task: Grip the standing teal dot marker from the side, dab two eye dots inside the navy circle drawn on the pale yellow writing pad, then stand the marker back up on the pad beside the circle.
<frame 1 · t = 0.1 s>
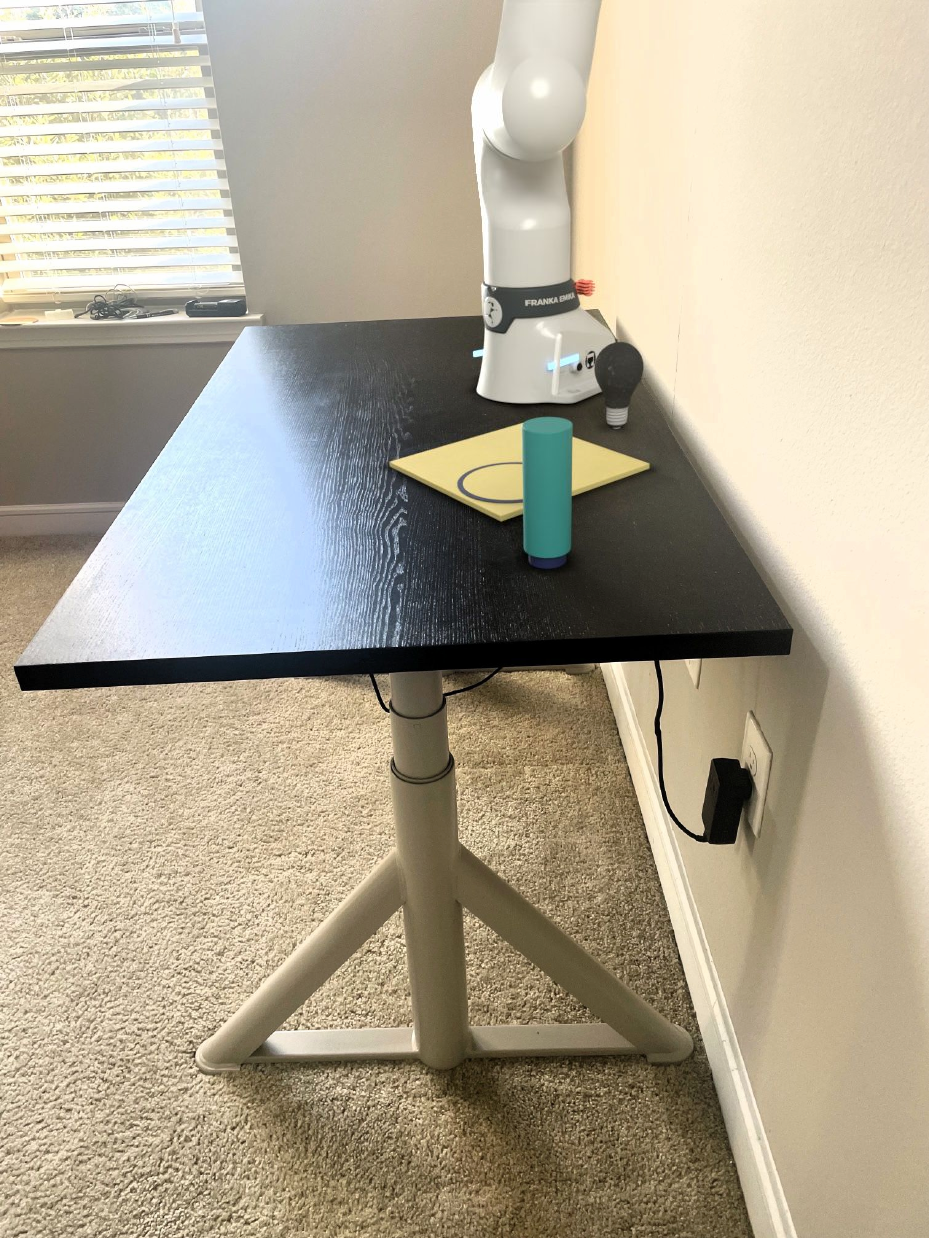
light bulb: (616, 429, 103), on the table
dot marker: (547, 560, 74), on the table
writing pad: (516, 467, 93), on the table
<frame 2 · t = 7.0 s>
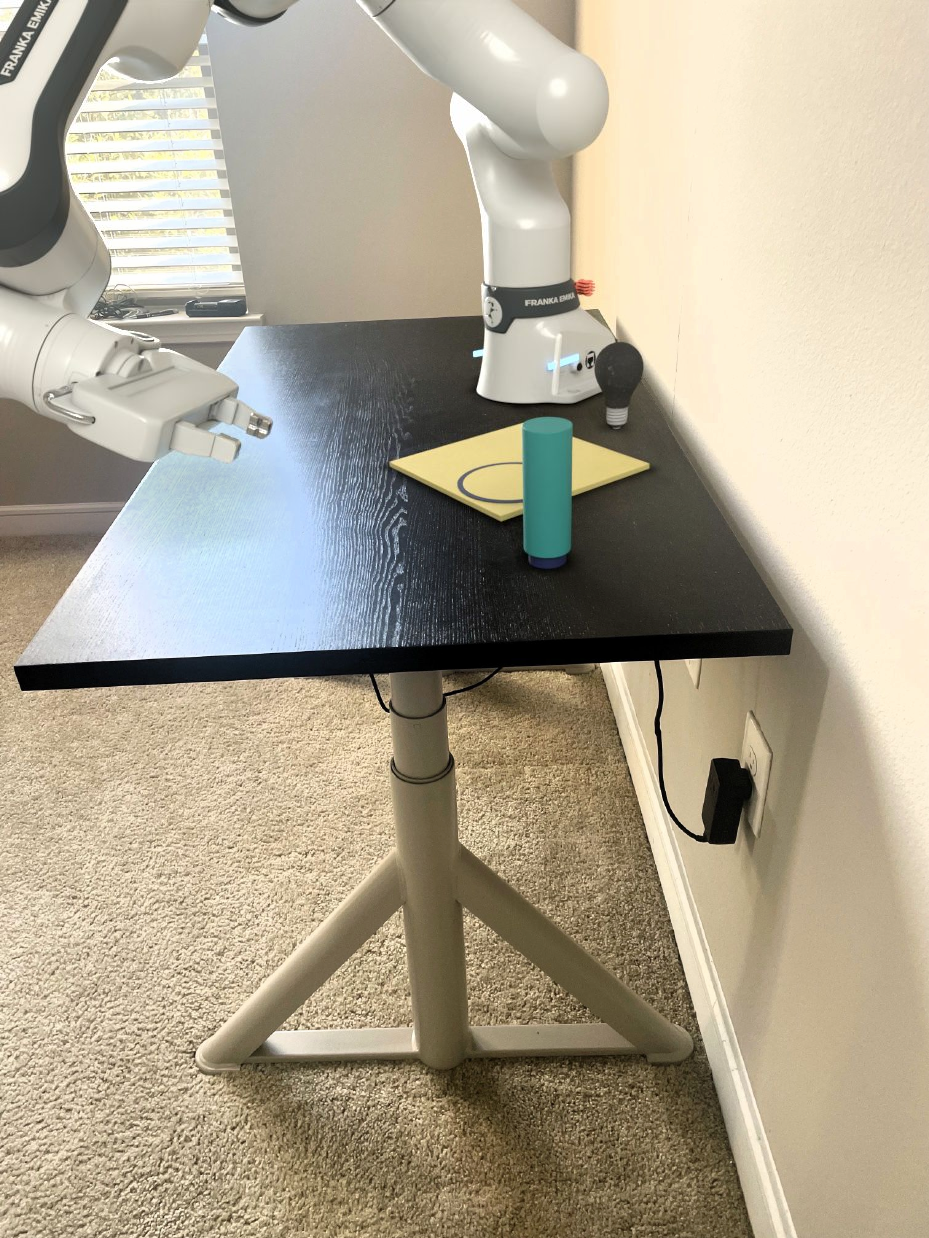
hand: (254, 441, 73), 10 cm above the table, tool tilted 65°, fingers open, 8 cm apart
nothing on the table moved.
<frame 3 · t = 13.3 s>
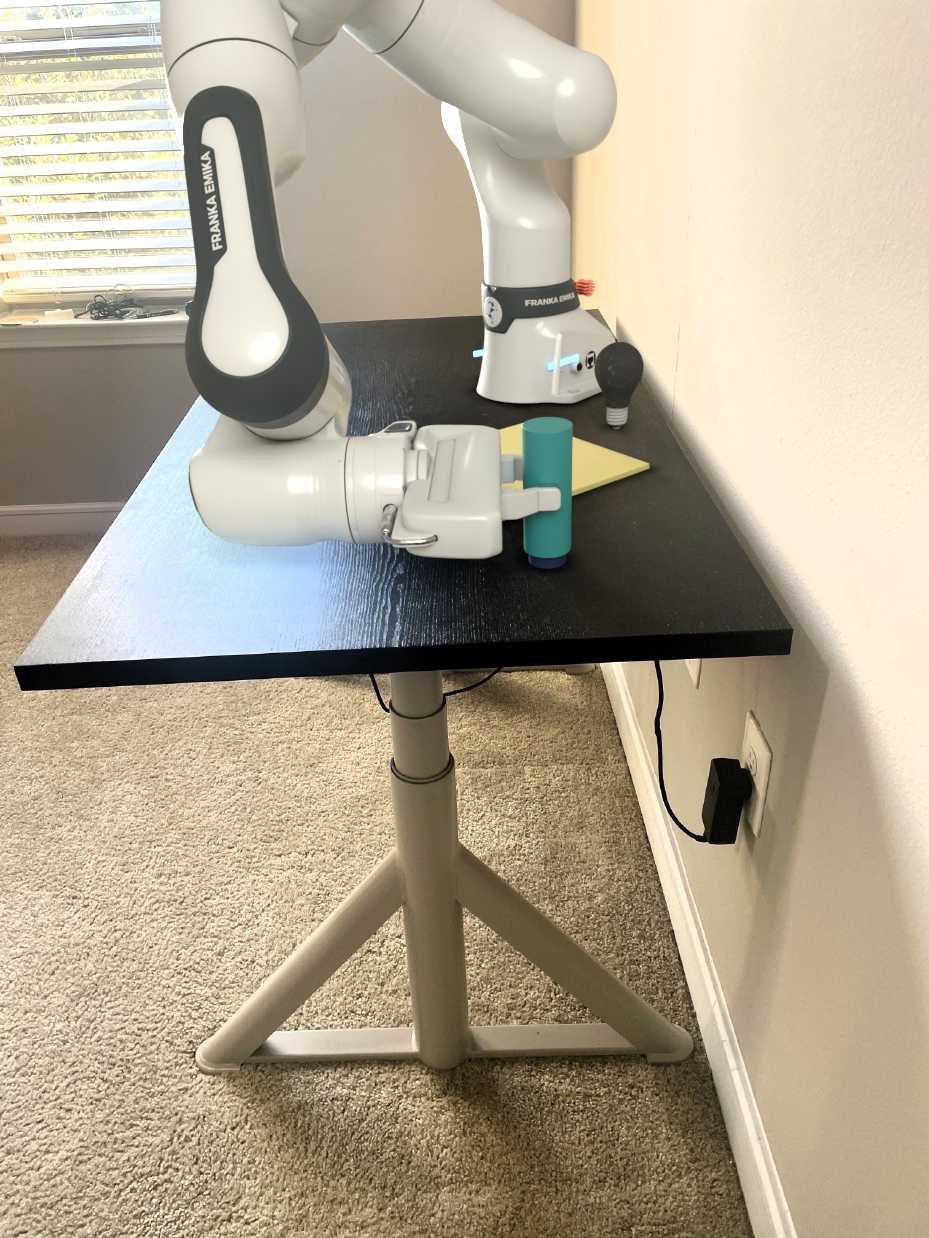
hand: (558, 483, 70), 7 cm above the table, tool horizontal, fingers closed on dot marker, 4 cm apart
dot marker: (547, 560, 74), on the table, touching gripper
everything else where it was.
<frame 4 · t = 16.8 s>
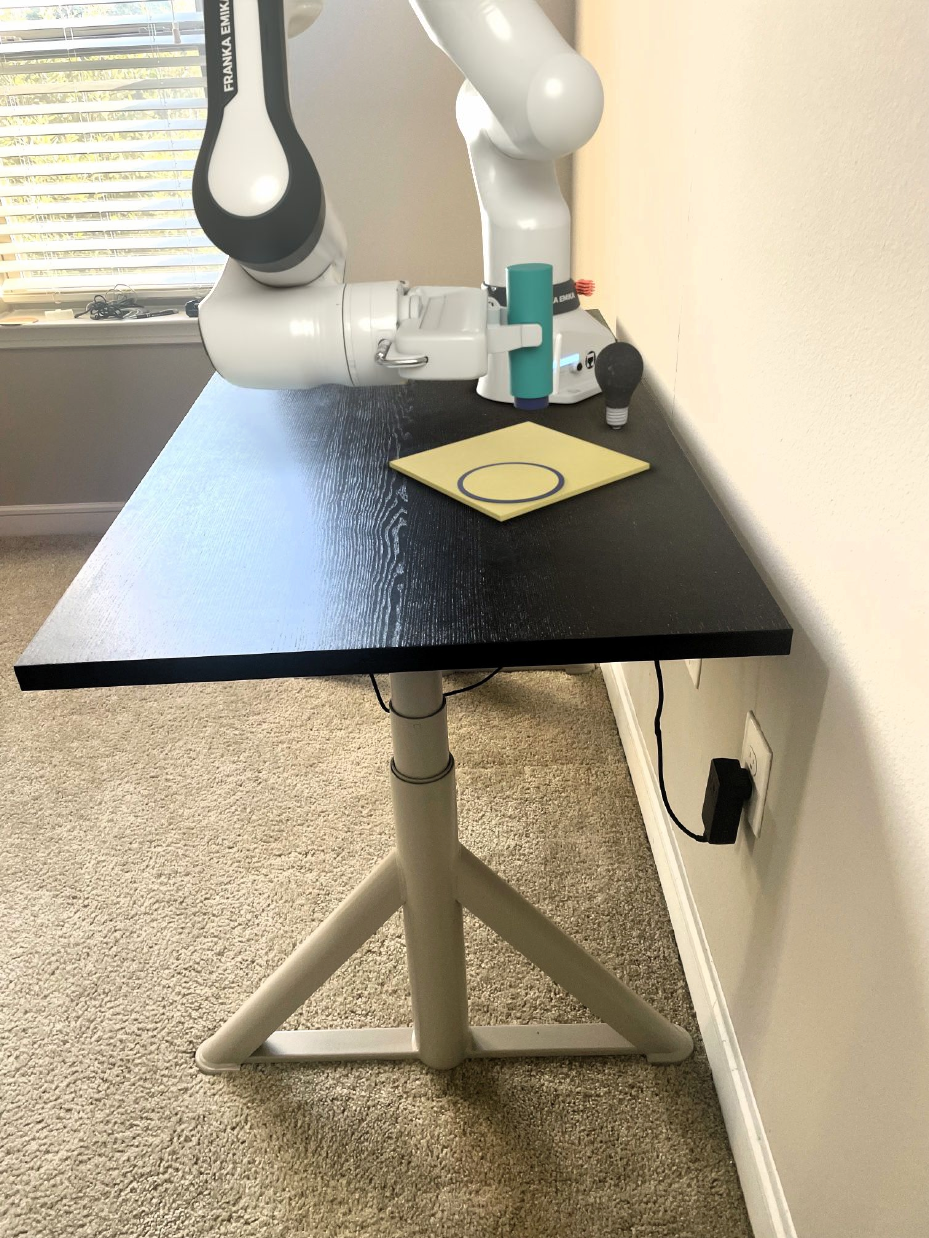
hand: (540, 326, 76), 17 cm above the table, tool horizontal, fingers closed on dot marker, 4 cm apart
dot marker: (531, 405, 80), point 10 cm above the table, touching gripper
everything else where it was.
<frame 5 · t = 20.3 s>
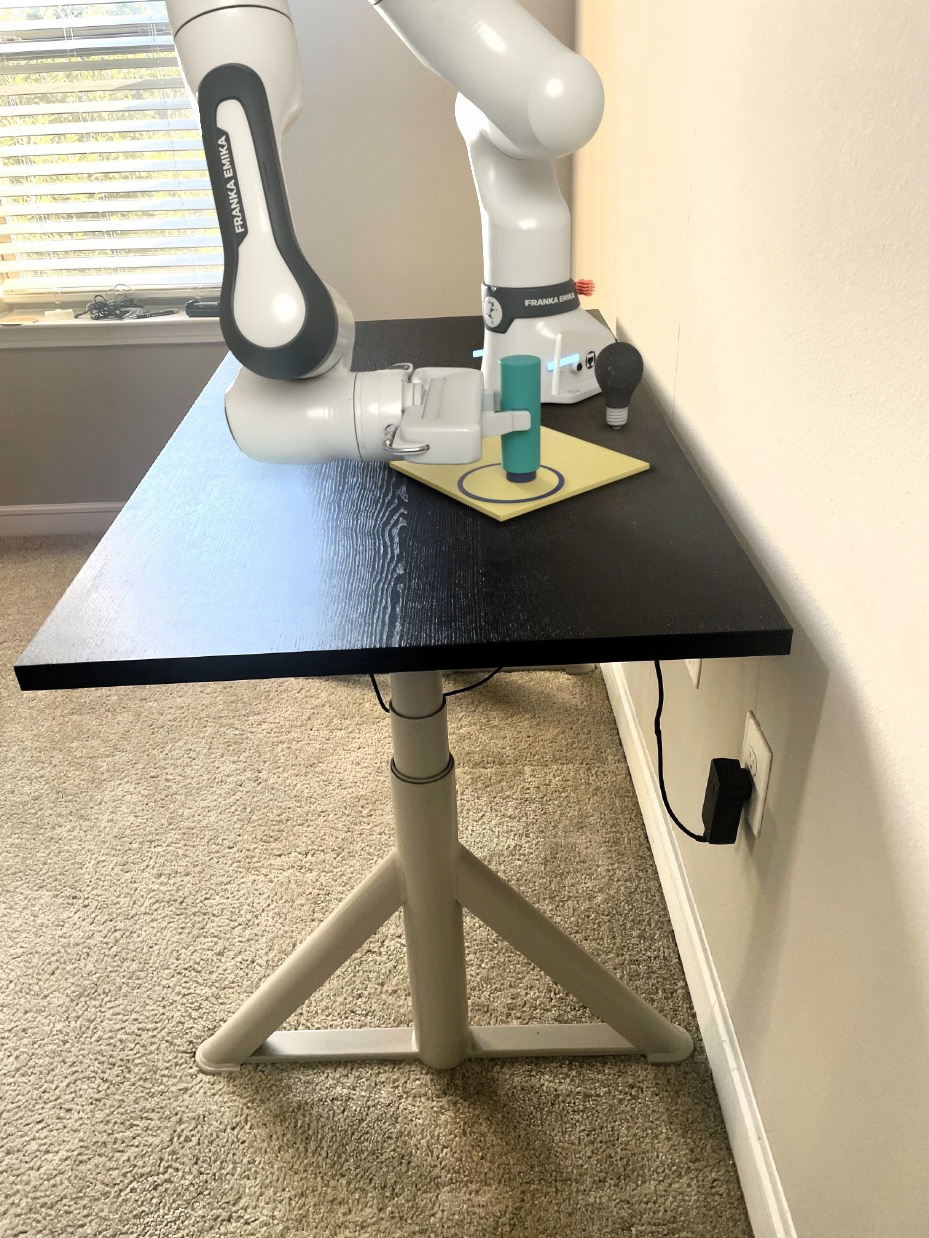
hand: (529, 410, 85), 8 cm above the table, tool horizontal, fingers closed on dot marker, 4 cm apart
dot marker: (520, 477, 89), point 1 cm above the table, touching gripper, writing pad
everything else where it was.
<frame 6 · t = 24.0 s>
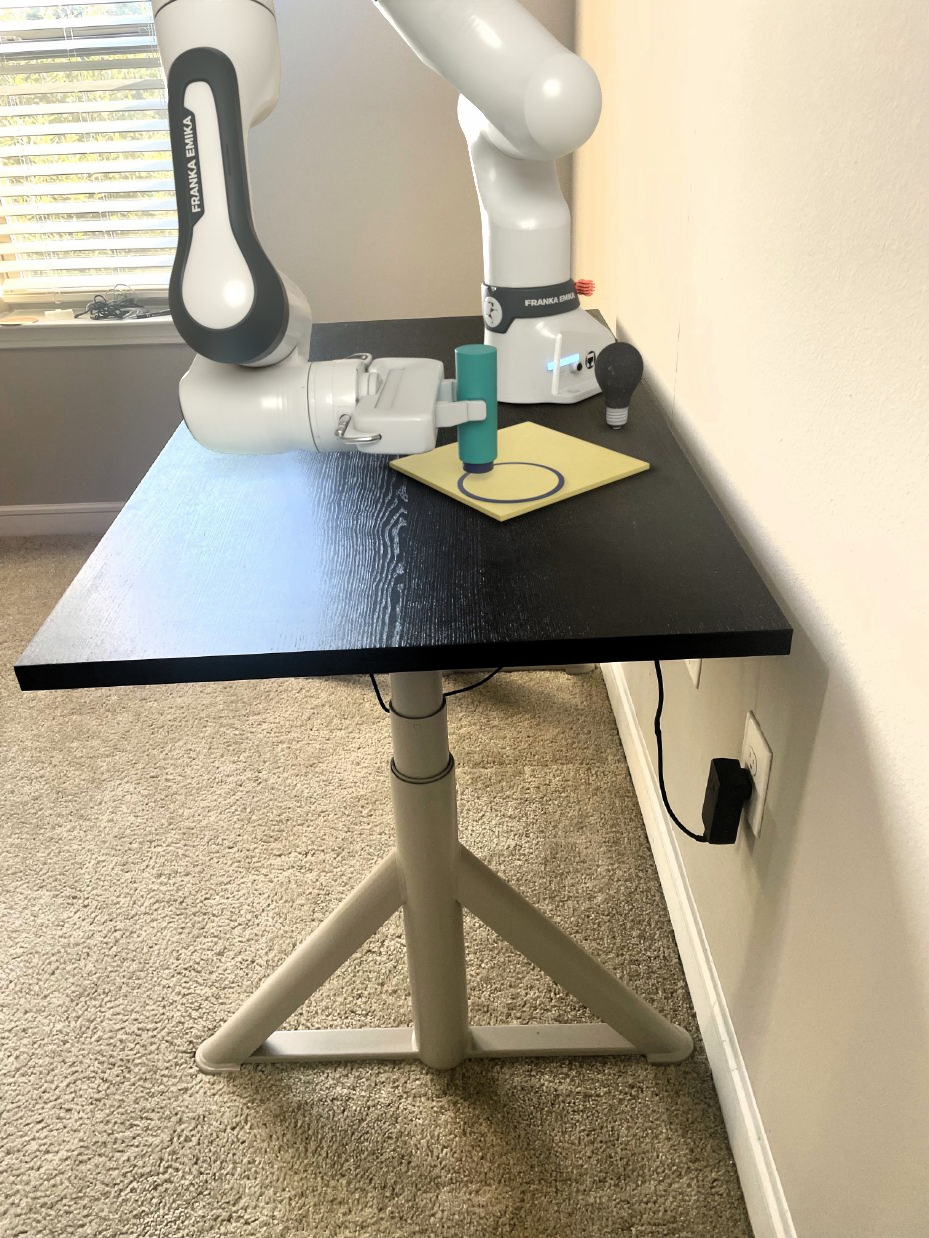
hand: (486, 400, 85), 9 cm above the table, tool horizontal, fingers closed on dot marker, 4 cm apart
dot marker: (478, 468, 88), point 2 cm above the table, touching gripper
everything else where it was.
when the fingers open (8 cm above the table, at t = 27.3 s): dot marker stays where it is, resting on writing pad.
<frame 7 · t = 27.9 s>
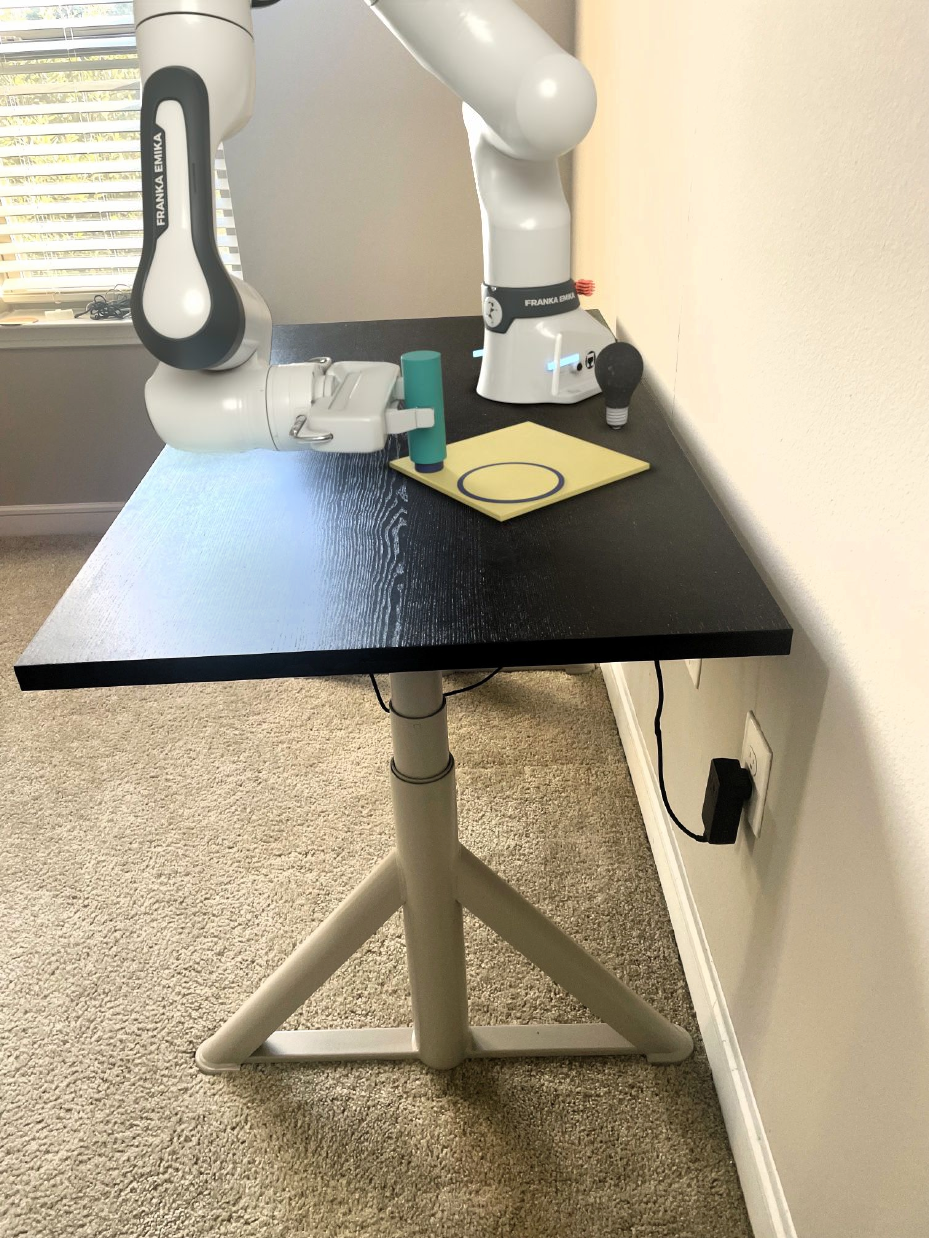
hand: (437, 402, 89), 8 cm above the table, tool horizontal, fingers open, 8 cm apart
dot marker: (429, 468, 93), point 1 cm above the table, touching writing pad
everything else where it was.
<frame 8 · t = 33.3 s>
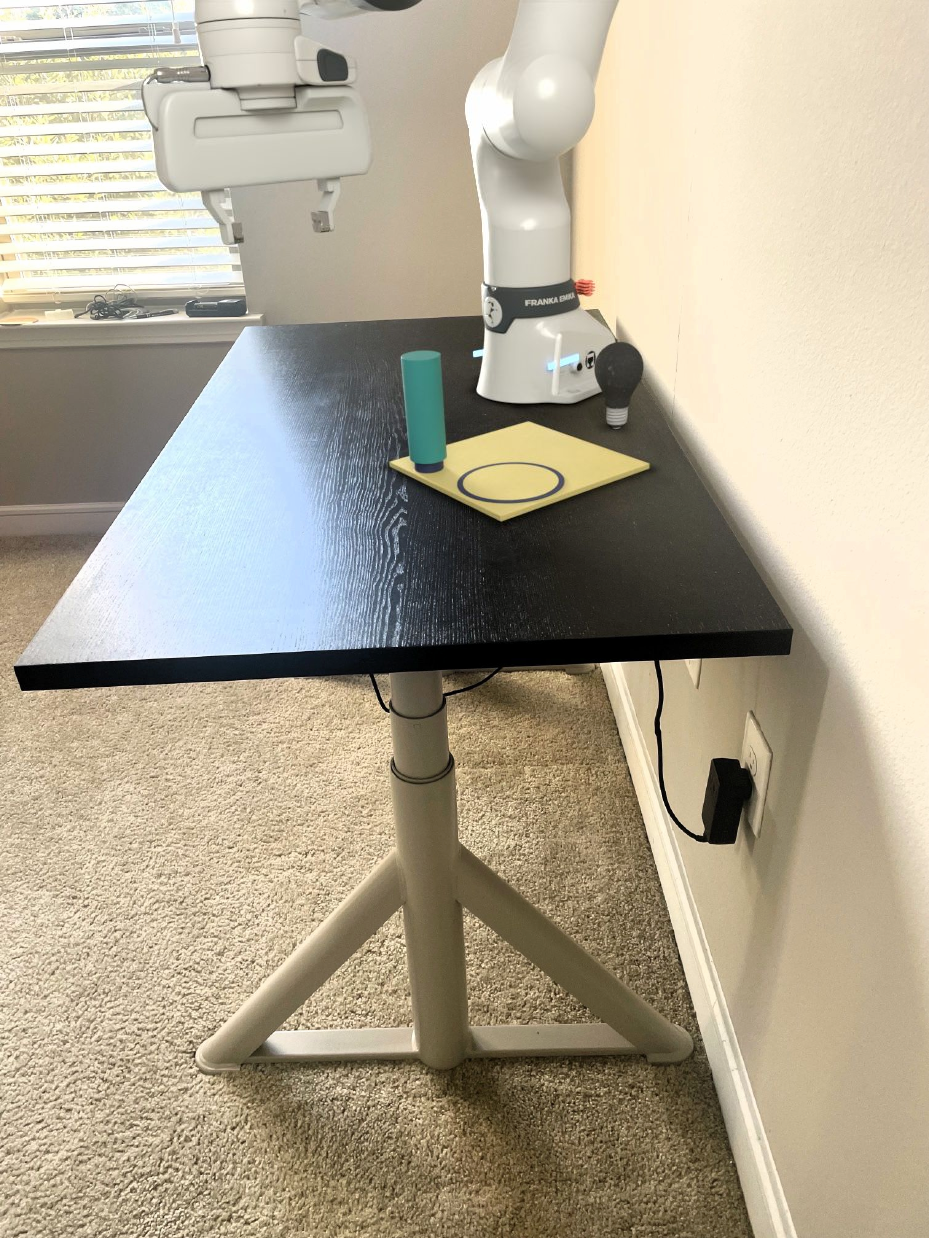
hand: (280, 237, 82), 24 cm above the table, tool pointing down, fingers open, 8 cm apart
nothing on the table moved.
at the end: dot marker 0.7 cm from the target spot on the writing pad, point 0.6 cm above the writing pad's base; dot marker tilted 0°; the gripper is holding nothing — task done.
